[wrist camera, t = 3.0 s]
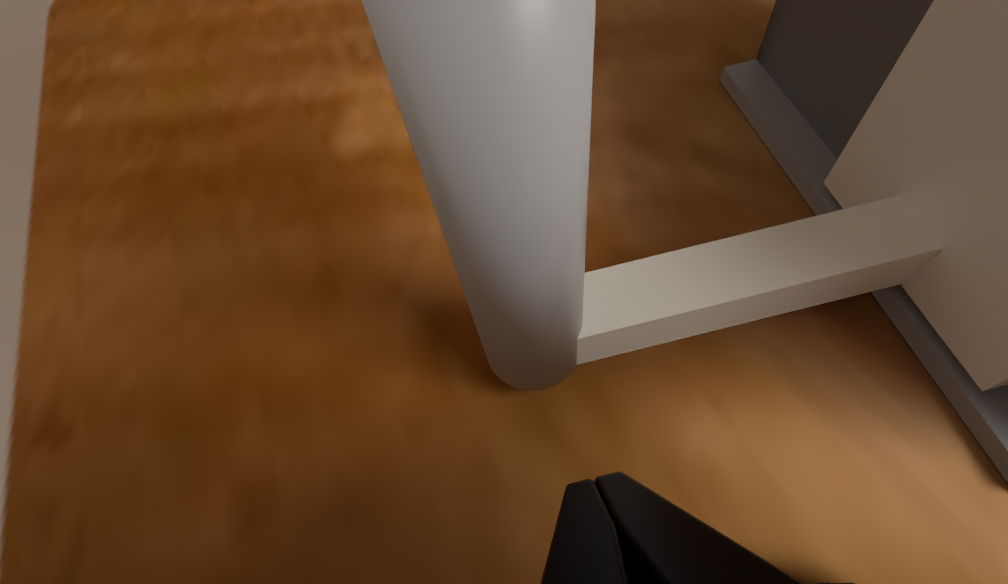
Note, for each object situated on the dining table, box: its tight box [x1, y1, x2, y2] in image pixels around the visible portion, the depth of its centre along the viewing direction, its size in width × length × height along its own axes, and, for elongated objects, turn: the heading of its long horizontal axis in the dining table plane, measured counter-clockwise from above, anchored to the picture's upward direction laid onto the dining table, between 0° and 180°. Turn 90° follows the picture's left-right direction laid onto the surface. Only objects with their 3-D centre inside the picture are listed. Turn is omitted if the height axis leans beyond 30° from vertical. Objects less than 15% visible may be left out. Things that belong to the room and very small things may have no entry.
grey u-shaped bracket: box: [362, 0, 1008, 391], centre depth 10 cm, size 8×14×13 cm, turn 102°
